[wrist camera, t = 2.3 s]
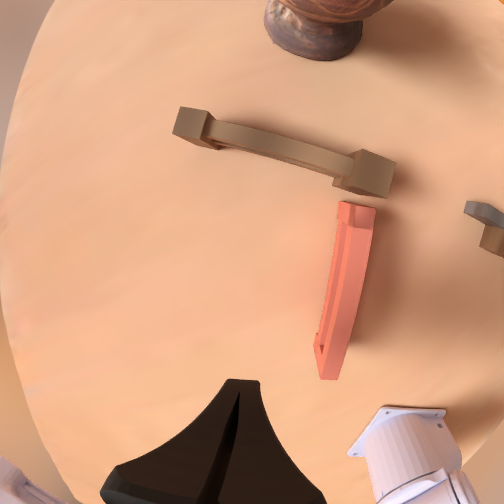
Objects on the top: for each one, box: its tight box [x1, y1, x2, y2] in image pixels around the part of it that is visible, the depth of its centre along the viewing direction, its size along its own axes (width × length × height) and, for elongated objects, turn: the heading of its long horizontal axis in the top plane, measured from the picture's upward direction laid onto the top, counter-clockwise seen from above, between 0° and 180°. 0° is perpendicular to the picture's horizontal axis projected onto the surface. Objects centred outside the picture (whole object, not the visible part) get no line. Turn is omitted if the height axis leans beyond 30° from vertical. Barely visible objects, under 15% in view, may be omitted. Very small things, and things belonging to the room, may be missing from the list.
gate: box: [314, 201, 376, 380], centre depth 18 cm, size 11×1×4 cm, turn 174°
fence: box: [172, 106, 504, 258], centre depth 16 cm, size 34×3×6 cm, turn 74°
